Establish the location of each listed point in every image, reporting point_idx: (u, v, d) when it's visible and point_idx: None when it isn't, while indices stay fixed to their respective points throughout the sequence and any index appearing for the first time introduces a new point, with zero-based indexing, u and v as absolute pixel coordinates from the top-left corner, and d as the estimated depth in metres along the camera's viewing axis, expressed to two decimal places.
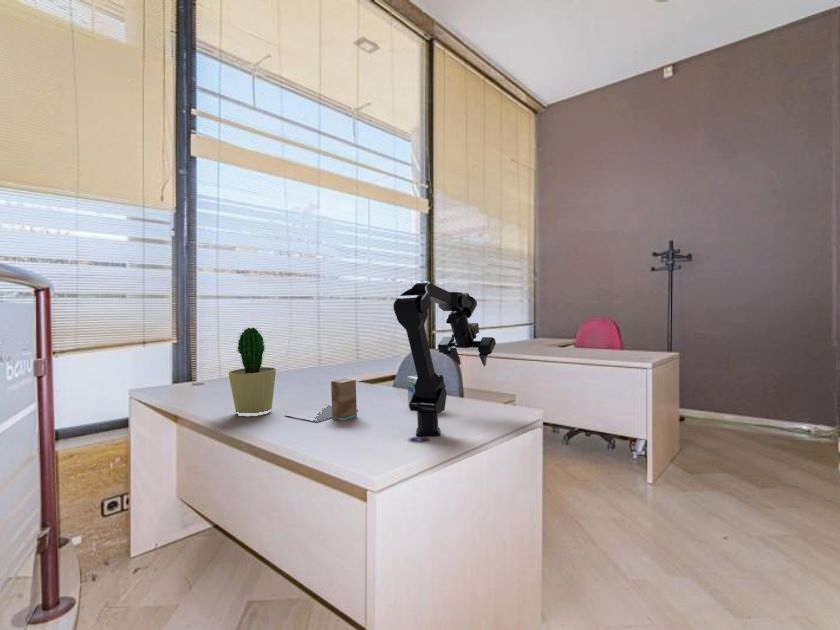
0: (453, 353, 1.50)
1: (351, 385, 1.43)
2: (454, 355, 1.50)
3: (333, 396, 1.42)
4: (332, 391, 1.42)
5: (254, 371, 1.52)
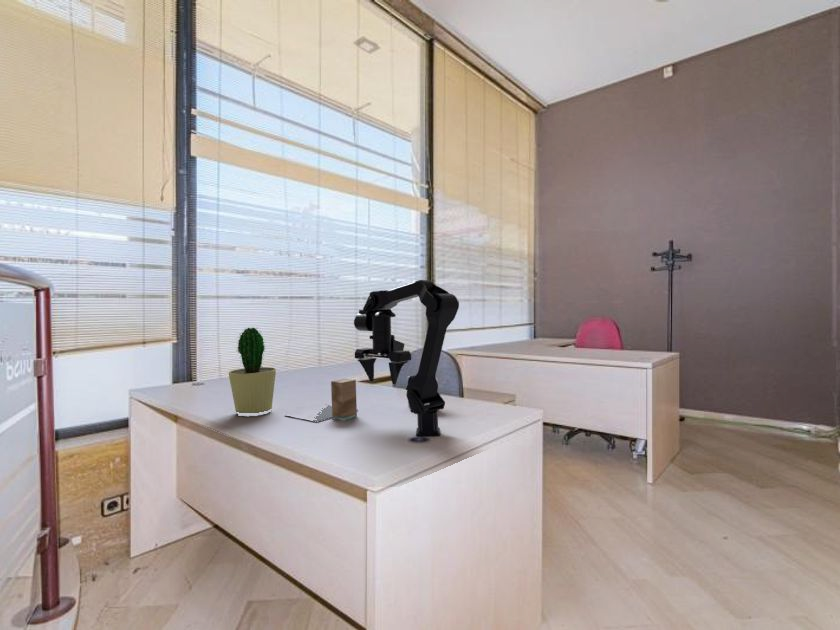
0: (368, 364, 1.39)
1: (351, 385, 1.43)
2: (368, 366, 1.39)
3: (333, 396, 1.42)
4: (332, 391, 1.42)
5: (254, 371, 1.52)
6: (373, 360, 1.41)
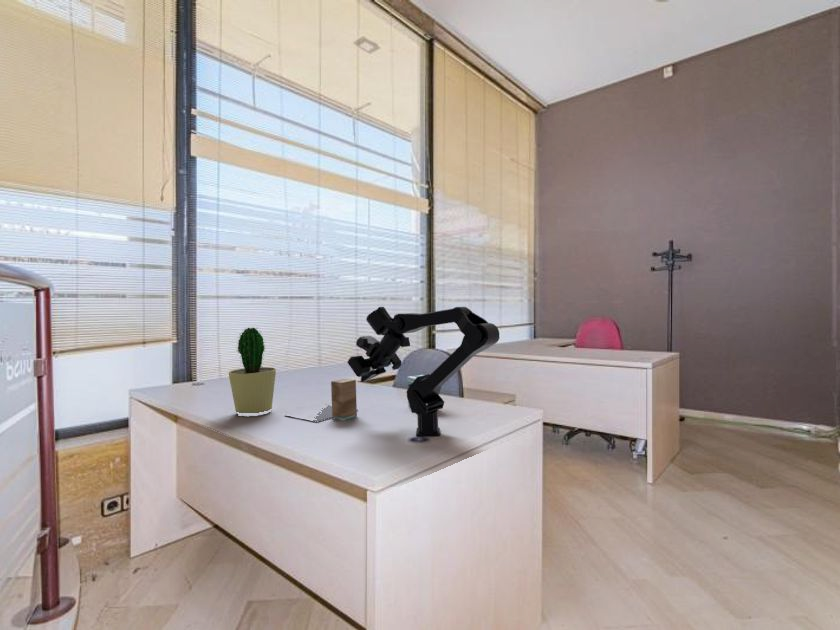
0: None
1: (351, 385, 1.43)
2: None
3: (333, 396, 1.42)
4: (332, 391, 1.42)
5: (254, 371, 1.52)
6: None
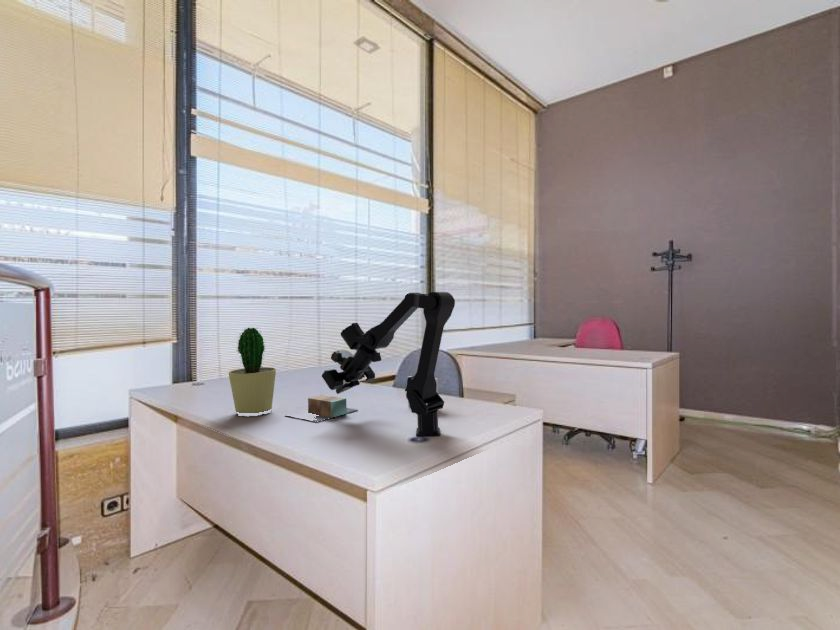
0: None
1: (320, 396, 1.52)
2: None
3: (317, 412, 1.47)
4: (314, 412, 1.48)
5: (254, 371, 1.52)
6: None
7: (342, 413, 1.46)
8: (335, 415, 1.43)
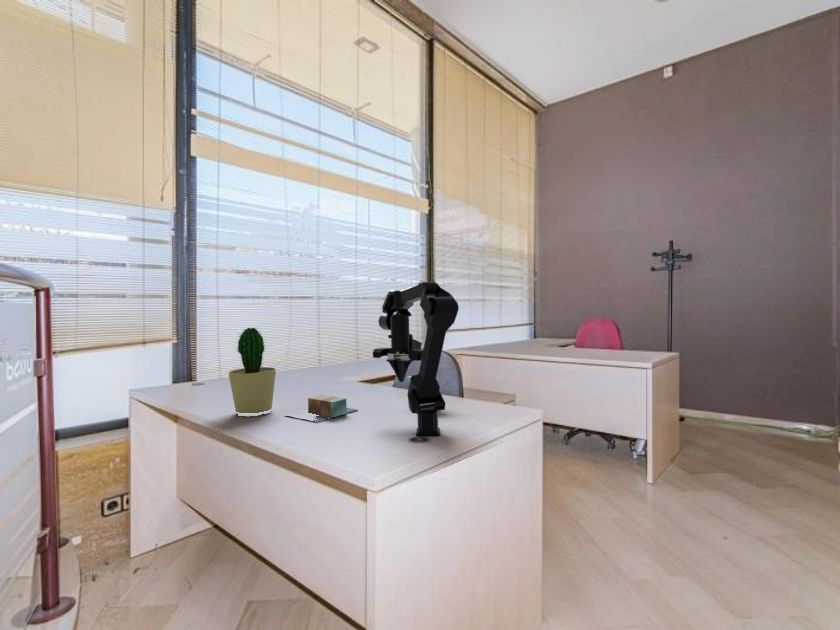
0: (397, 364, 1.37)
1: (320, 396, 1.52)
2: (397, 366, 1.37)
3: (317, 412, 1.47)
4: (314, 412, 1.48)
5: (254, 371, 1.52)
6: None
7: (342, 413, 1.46)
8: (335, 415, 1.43)
